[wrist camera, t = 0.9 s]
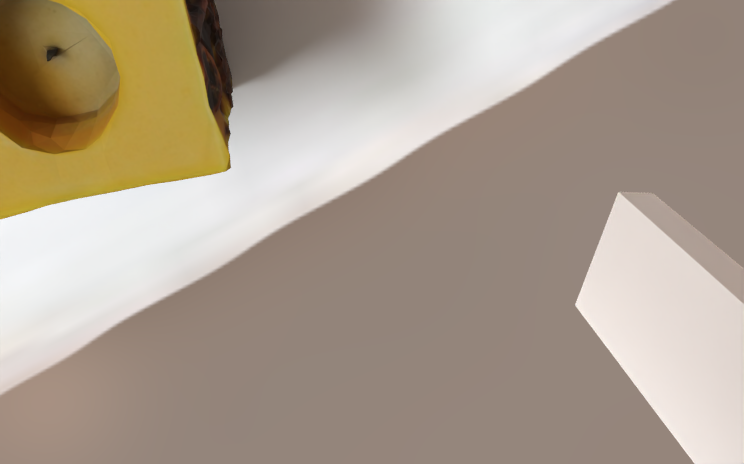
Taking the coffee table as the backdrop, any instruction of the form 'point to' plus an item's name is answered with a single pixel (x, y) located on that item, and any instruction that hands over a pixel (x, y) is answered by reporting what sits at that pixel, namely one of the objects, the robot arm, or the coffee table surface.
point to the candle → (108, 97)
